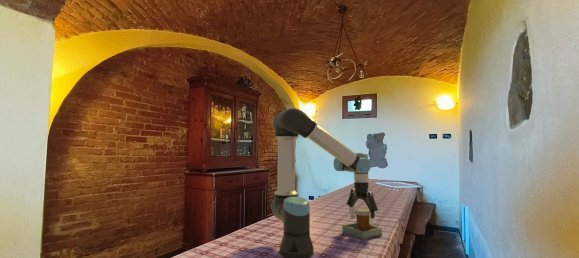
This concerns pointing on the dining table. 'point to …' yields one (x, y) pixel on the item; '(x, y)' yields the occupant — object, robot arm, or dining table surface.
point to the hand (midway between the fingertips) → (361, 221)
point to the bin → (363, 235)
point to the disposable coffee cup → (363, 219)
